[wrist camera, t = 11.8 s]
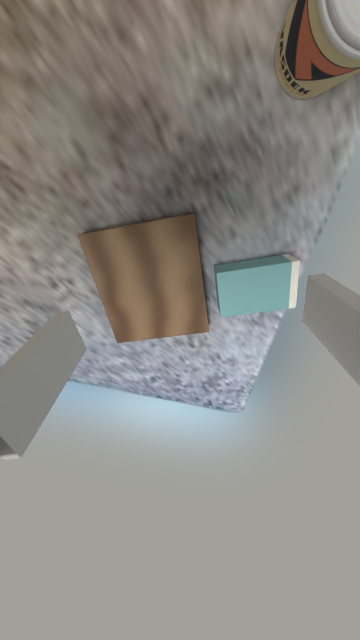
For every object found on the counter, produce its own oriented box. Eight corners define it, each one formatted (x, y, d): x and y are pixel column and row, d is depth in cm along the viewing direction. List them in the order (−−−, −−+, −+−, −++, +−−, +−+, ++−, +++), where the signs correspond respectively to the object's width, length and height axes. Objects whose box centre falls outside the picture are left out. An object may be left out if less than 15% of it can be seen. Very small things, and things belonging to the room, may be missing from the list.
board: (121, 335, 41) (117, 342, 39) (85, 232, 33) (77, 235, 30) (208, 324, 39) (209, 331, 37) (194, 212, 31) (194, 213, 29)
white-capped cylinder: (248, 41, 23) (299, -86, 12) (341, -60, 20) (512, -345, 9) (290, 131, 26) (357, 90, 16) (375, 57, 23) (529, -56, 13)
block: (220, 317, 34) (295, 307, 33) (216, 273, 31) (299, 260, 30) (217, 305, 38) (285, 296, 37) (213, 265, 34) (288, 253, 33)
